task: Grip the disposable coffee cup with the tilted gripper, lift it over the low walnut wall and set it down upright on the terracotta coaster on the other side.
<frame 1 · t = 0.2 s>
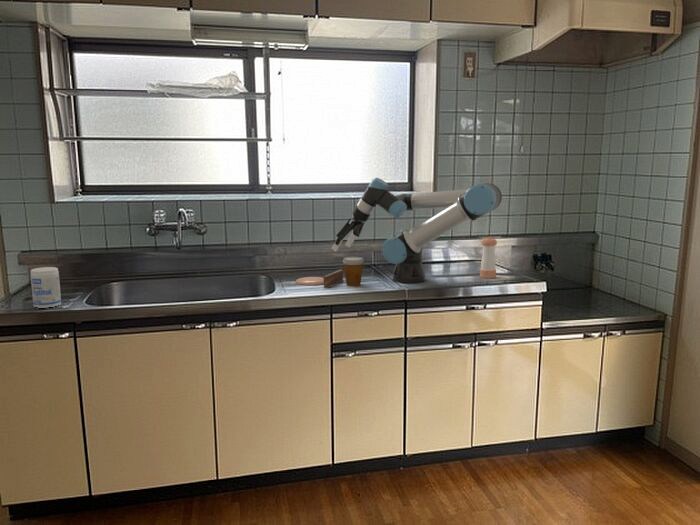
hand: (340, 247, 253), 15 cm above the worktop, tool tilted 35°, fingers open, 13 cm apart
pepper shaker: (487, 277, 261), on the worktop
supplement tub: (48, 306, 214), on the worktop
terracotta coaster: (312, 281, 253), on the worktop
disposable coffee cup: (353, 285, 246), on the worktop
walnut wall: (333, 283, 248), on the worktop
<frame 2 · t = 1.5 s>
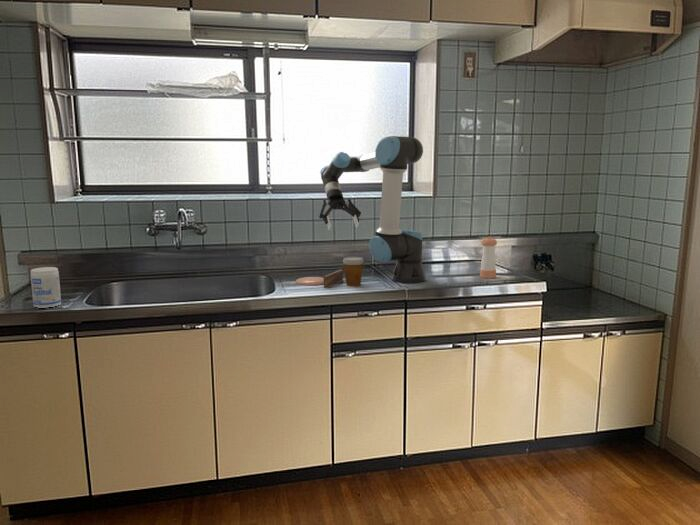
hand: (344, 228, 255), 24 cm above the worktop, tool tilted 45°, fingers open, 13 cm apart
nothing on the worktop moved.
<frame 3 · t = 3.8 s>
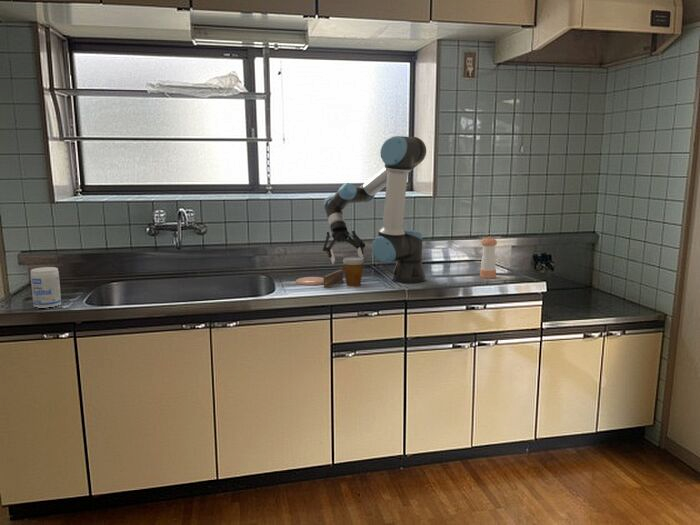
hand: (348, 261, 249), 10 cm above the worktop, tool tilted 45°, fingers open, 13 cm apart
nothing on the worktop moved.
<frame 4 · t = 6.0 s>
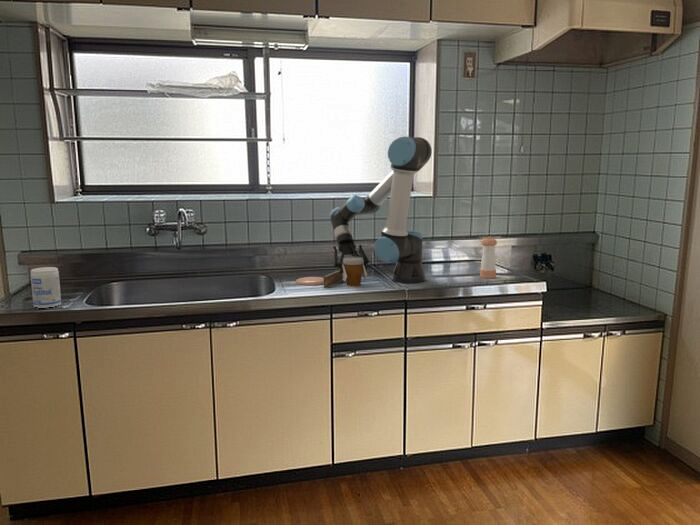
hand: (355, 278, 242), 4 cm above the worktop, tool tilted 45°, fingers closed on disposable coffee cup, 9 cm apart
disposable coffee cup: (353, 285, 246), on the worktop, touching gripper
everything else where it was.
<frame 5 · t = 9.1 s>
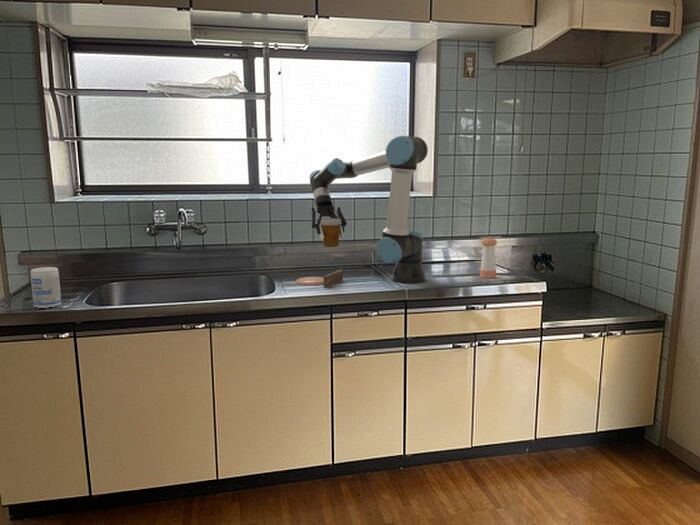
hand: (332, 238, 244), 21 cm above the worktop, tool tilted 45°, fingers closed on disposable coffee cup, 9 cm apart
disposable coffee cup: (330, 246, 247), point 17 cm above the worktop, touching gripper
everything else where it was.
when the fingers open (6 cm above the worktop, at t = 12.0 s): disposable coffee cup drops 1 cm, resting on terracotta coaster.
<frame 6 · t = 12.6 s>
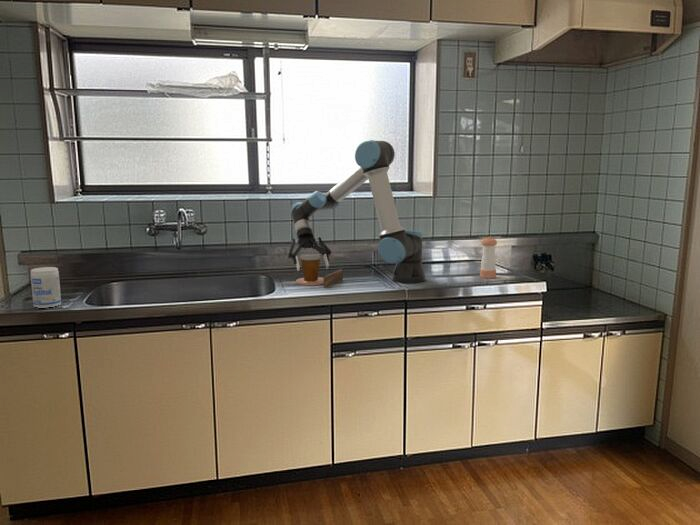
hand: (313, 268, 249), 7 cm above the worktop, tool tilted 45°, fingers open, 13 cm apart
disposable coffee cup: (310, 280, 253), resting on terracotta coaster
everything else where it was.
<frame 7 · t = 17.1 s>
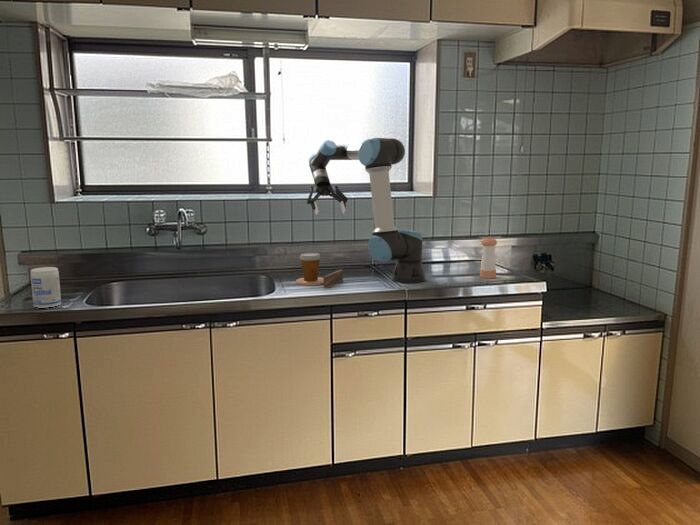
hand: (331, 213, 263), 30 cm above the worktop, tool tilted 45°, fingers open, 13 cm apart
nothing on the worktop moved.
at the end: disposable coffee cup inside the target area on the terracotta coaster (0.9 cm from its centre), point 0.4 cm above the terracotta coaster's base; disposable coffee cup tilted 0°; the gripper is holding nothing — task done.
